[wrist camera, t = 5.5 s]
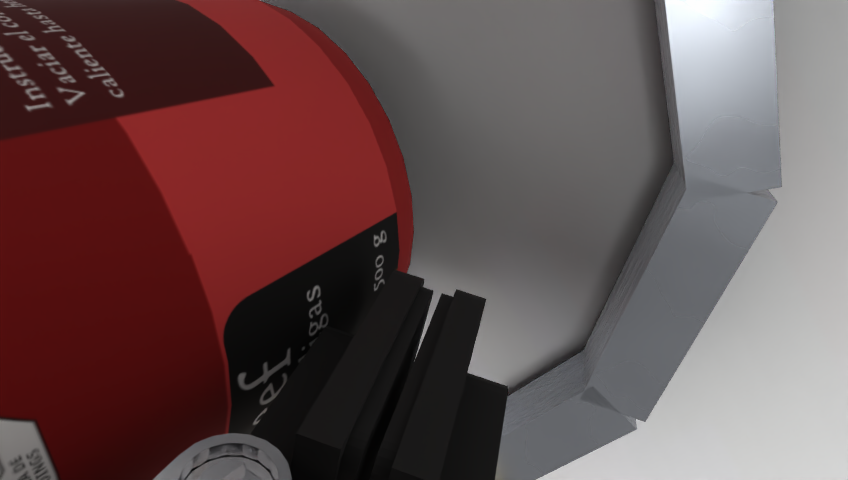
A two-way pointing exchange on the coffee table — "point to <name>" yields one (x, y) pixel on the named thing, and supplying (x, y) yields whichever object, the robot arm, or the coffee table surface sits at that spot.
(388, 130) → the canned food
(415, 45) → the coffee table surface
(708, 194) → the ring
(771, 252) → the coffee table surface
